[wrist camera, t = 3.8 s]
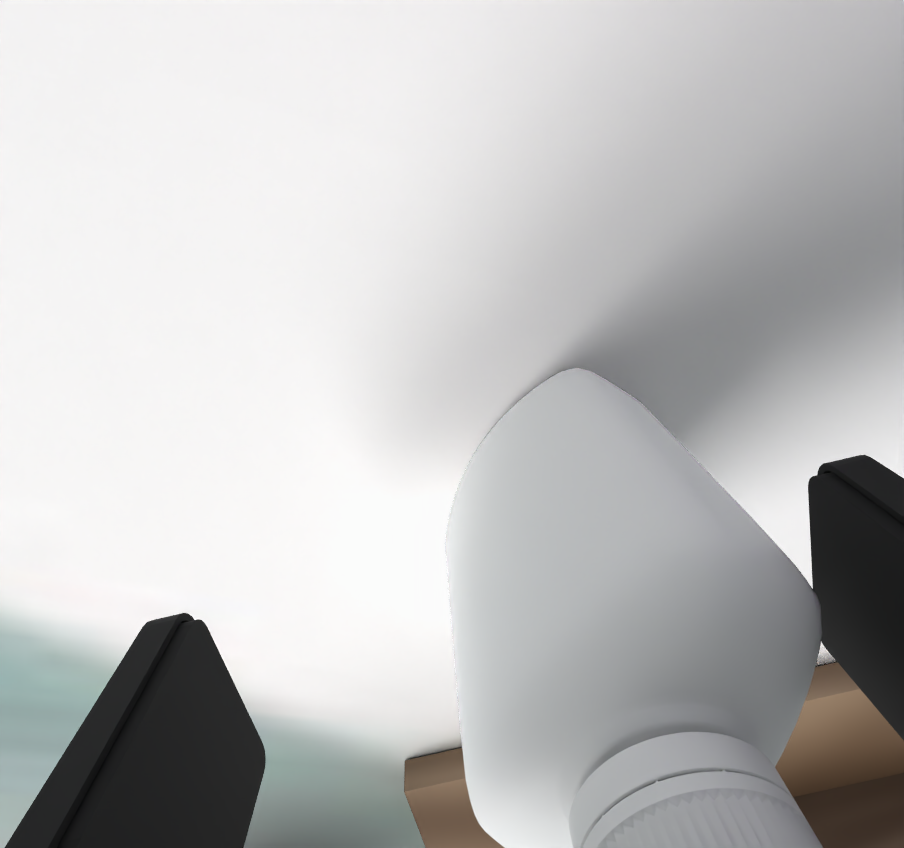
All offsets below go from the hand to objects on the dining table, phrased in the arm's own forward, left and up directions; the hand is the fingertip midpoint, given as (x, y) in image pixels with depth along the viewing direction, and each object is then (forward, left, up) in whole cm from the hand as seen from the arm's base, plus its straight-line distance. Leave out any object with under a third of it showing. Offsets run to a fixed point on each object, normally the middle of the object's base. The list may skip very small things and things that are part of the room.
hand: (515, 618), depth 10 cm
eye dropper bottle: (+1, +1, -6) cm, 6 cm away
